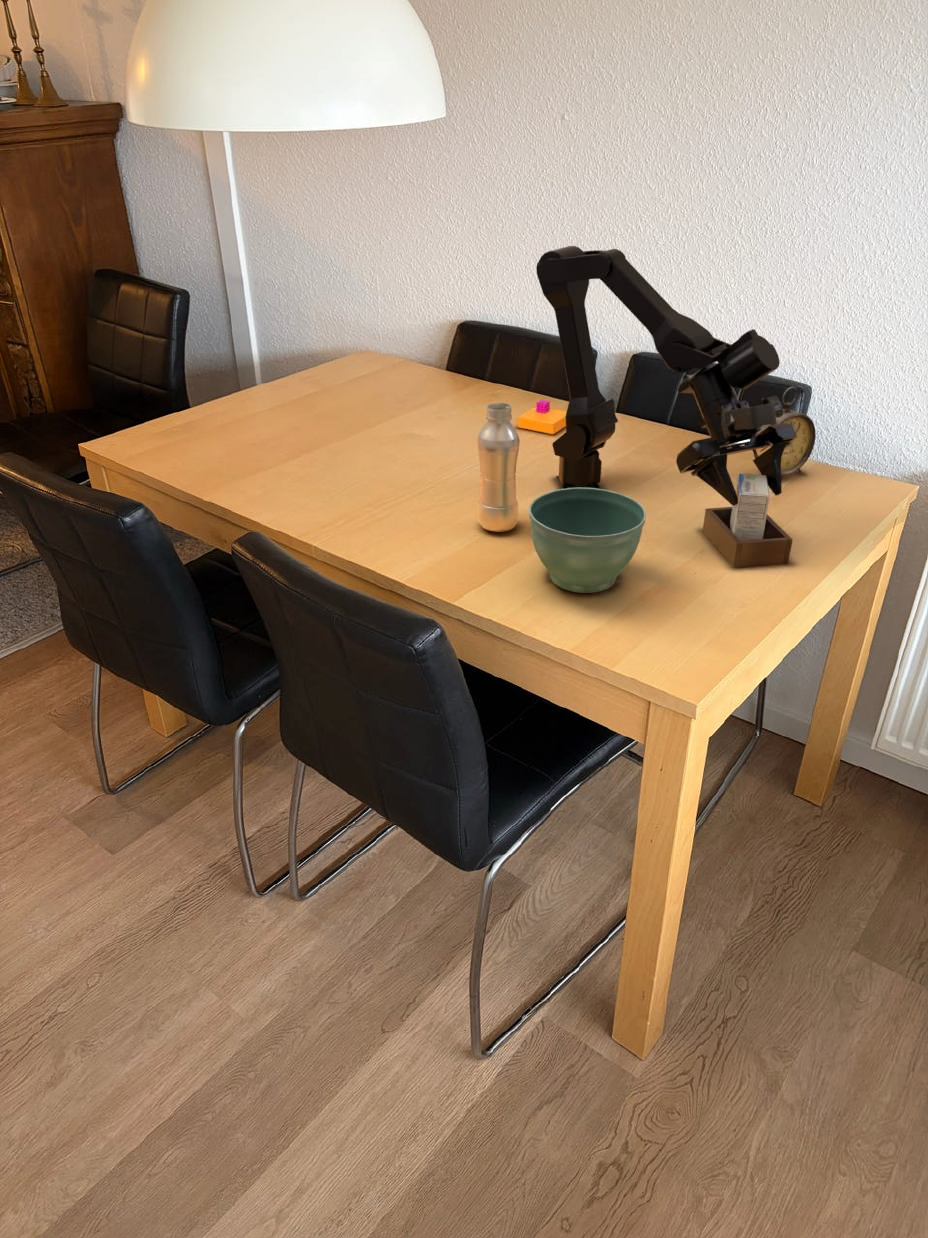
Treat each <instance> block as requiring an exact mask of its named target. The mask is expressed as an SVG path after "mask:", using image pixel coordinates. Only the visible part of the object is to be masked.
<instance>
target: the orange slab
mask: <svg viewBox="0 0 928 1238" xmlns="http://www.w3.org/2000/svg"><path fill="white" fill-rule="evenodd" d="M550 404H551V401H550V400H545V399H540V400H538V401H537V402H536V403H535V405H536V406H535V407H533V408H531V409H529V410H528V411H525V412H524V413H522V414H521V415H519V416H517V427H518V429H519V428H520V429H525V430H530V431H534V432H539V433H544V434H549V435H554V434H556V433H557V432H559V431H561V430H563V429H564V428H566V412H567V410H560V409H555V408H551V407H550V406H551V405H550Z"/></svg>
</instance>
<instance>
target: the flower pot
mask: <svg viewBox="0 0 928 1238" xmlns="http://www.w3.org/2000/svg"><path fill="white" fill-rule="evenodd" d="M528 513H529V514H528V517H529V520H530V533H531V540H532V544H533V546H534V549H535V552H536V554H537V557H538V558H539V560H540V561H541V564H542V565H543V566H544V567H545V569H546V570H547V571H548V572H549V579H550V581H551V582H552V583H553V584H554V585H555V586H557V587H559V588H560V589H562V590H566V591H569V592H573V593H579V594H580V593H581V594H591V593H592V594H594V593H599V592H602V591H606V590H608V589H609V588H611V587H613V585H614V584H615V582H616V580H617V577H618V576H619V575H620V574H621V573H622V572H623V571H624V570H625V569H626V567H627V566H628V565H629V563H630V562H631V560H632V559H633V557H634V555H635V553H636V551H637V549H638V546H639V543H640V541H641V537H642V532H643V528H644V525H645V522H646V517H647V512H646V510H645V508H644V506H643V505H642V504H641V503H640V502H639V501H637V500H635V499H634V498H632V497H630V496H628V495H626V494H623V493H621V492H617V491H612V490H609V489H604V488H600V489H597V488H581V487H578V488H566V489H562V488H559V489H554V490H551V491H548V492H546V493H543V494H540V495H538V496H537V497H536V498H534V499H533V500H532V501H531V503H530V504H529V507H528Z"/></svg>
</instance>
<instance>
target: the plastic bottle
mask: <svg viewBox="0 0 928 1238" xmlns="http://www.w3.org/2000/svg"><path fill="white" fill-rule="evenodd" d="M485 419H486V420H487V421H486V422H485V424H484V425H483V426H482V427H481V430H480V431H479V432H478V435H477V438H476V439H477V440H476V444H477V451H478V452H477V453H478V459H479V466H480V467H479V468H480V492H479V493H480V494H479V500H478V504H477V511H476V513H477V520H478V523H479V524H480V526H481V527H482V528H483V529H485V530H486V531H490V532H495V533H501V532H502V533H503V532H508V531H511V530H512V529H514V528H515V527H516V526H517V524H518V522H519V518H520V509H519V503H518V502H519V501H518V500H517V488H516V487H517V485H516V477H517V475H516V473H517V463H518V456H519V450H520V444H521V443H520V441H521V440H520V436H519V433H518V432H517V430H516V428H515V427H514V425H513V424H512V423H511V420H512V419H513V415H512V405H511V404H509V403H505V402H491V403H489V404H487V405H486V414H485Z"/></svg>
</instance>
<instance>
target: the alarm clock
mask: <svg viewBox="0 0 928 1238" xmlns="http://www.w3.org/2000/svg"><path fill="white" fill-rule="evenodd" d="M792 389H793V390H794V397H793V399H792V401H791V402H785V396H786V394H787V393H788V392H789V391H790V390H792ZM797 396H798V390H797V388H796V387H795V386H789V387H788V388H786V390H785V391H784V392H783V394H782V398H781V403H782V405H783V406H785V408H783V415H782V416H781V417H777V418H776V421H777V424H782V423H788V424H791V425H792V426H793V428H794V430H795V433H796V435H797V438H796V439H794V440H793V441H791V442H790V444H789V446H788V447H786V448H785V449H784V451H783V454H782V458H781V476H789V475H792V474H794V473H796V472H798V474H801V473H803V472H802V469H801V468H802V467H803V466H804V465H805V464H806V462H807V461H808V460H809V459H810V457H811V455H812V452H813V450H814V448H815V443H816V437H817V435H816V434H817V433H816V427H815V423H814V421H813V420H812V418H811V417H810V416H809V415H807V414H805V413H802V412H799V411H795V410H792V409H791V406H792V405H793V404H794V402H795V401H796V399H797ZM777 424H775V425H777ZM769 426H772V425H770V424H768V425H763V426H762V427H761V430H760V431H758V432H757V433H755V435H754V436H757V435H758V434H760V433H761V432H762V431H763V430H765V429H766V428H767V427H769ZM753 457H754V459H755V458H757V457H758V455H756V454H754V453H753Z"/></svg>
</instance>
